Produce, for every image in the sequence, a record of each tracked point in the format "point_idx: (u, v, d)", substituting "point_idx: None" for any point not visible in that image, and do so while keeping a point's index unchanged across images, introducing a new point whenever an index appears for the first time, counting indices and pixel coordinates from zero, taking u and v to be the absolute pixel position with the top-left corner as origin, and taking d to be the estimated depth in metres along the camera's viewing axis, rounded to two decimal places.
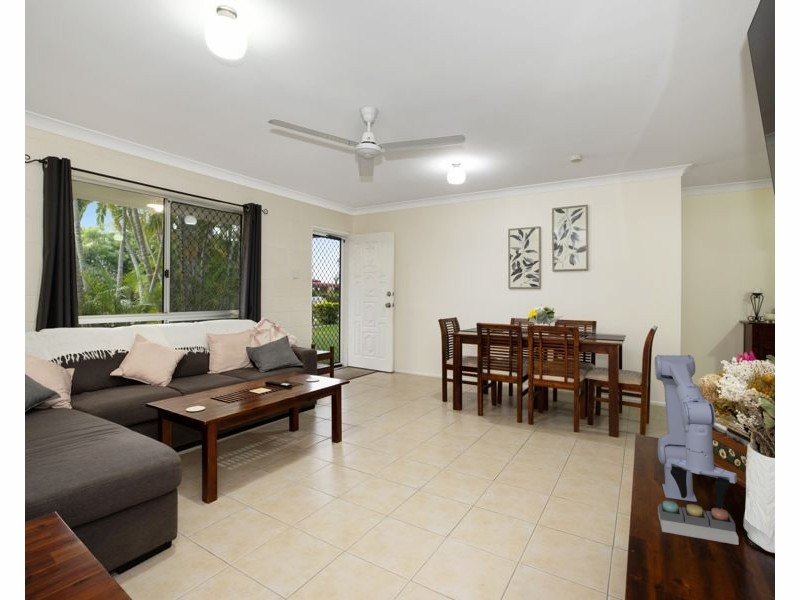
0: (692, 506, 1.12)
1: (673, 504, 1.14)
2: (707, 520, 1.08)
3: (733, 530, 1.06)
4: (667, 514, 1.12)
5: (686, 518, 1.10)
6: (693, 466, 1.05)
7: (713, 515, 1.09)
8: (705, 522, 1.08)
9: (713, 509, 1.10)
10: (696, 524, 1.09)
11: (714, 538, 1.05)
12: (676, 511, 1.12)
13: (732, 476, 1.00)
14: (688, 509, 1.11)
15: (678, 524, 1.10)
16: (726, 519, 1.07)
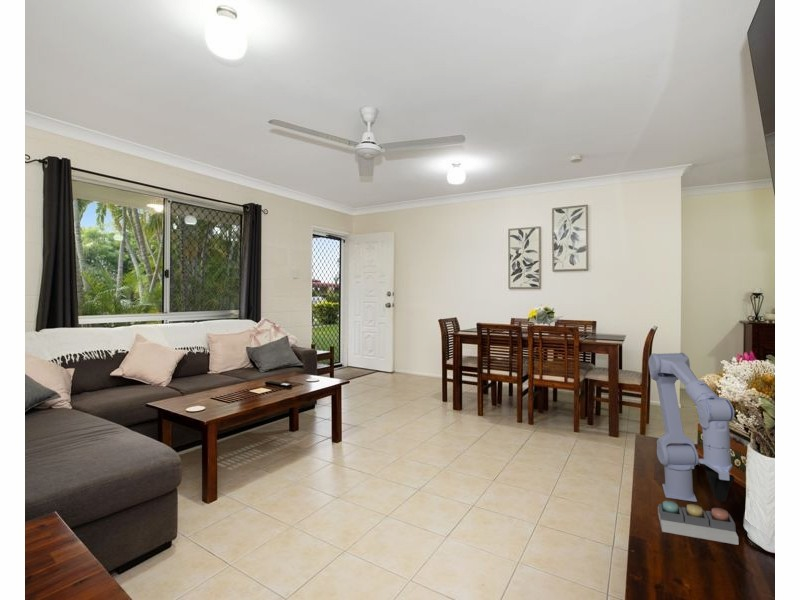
0: (692, 506, 1.12)
1: (673, 504, 1.14)
2: (707, 520, 1.08)
3: (733, 530, 1.06)
4: (667, 514, 1.12)
5: (686, 518, 1.10)
6: None
7: (713, 515, 1.09)
8: (705, 522, 1.08)
9: (713, 509, 1.10)
10: (696, 524, 1.09)
11: (714, 538, 1.05)
12: (676, 511, 1.12)
13: (719, 472, 1.03)
14: (688, 509, 1.11)
15: (678, 524, 1.10)
16: (726, 519, 1.07)
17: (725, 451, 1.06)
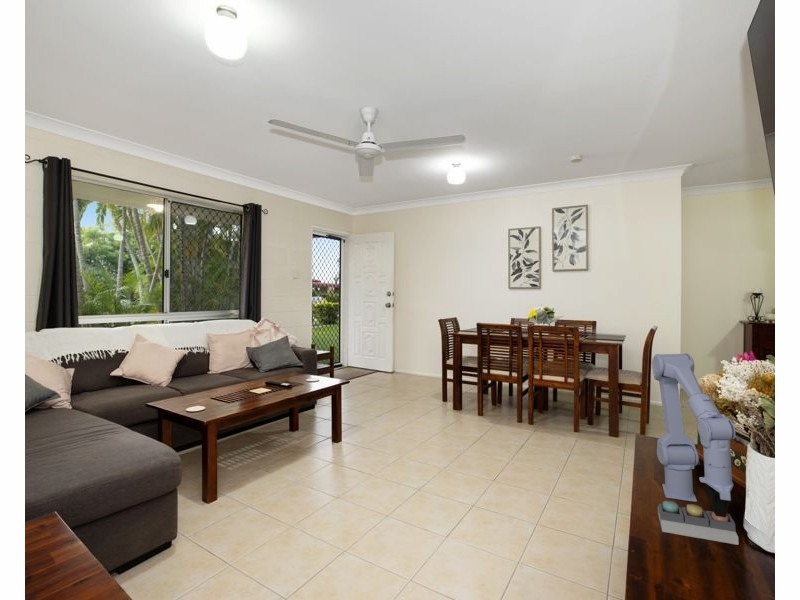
0: (692, 506, 1.12)
1: (673, 504, 1.14)
2: (707, 520, 1.08)
3: (733, 530, 1.06)
4: (667, 514, 1.12)
5: (686, 518, 1.10)
6: None
7: (713, 519, 1.09)
8: (705, 522, 1.08)
9: (713, 513, 1.10)
10: (696, 524, 1.09)
11: (714, 538, 1.05)
12: (676, 511, 1.12)
13: (720, 492, 1.03)
14: (688, 509, 1.11)
15: (678, 524, 1.10)
16: None
17: (726, 470, 1.06)
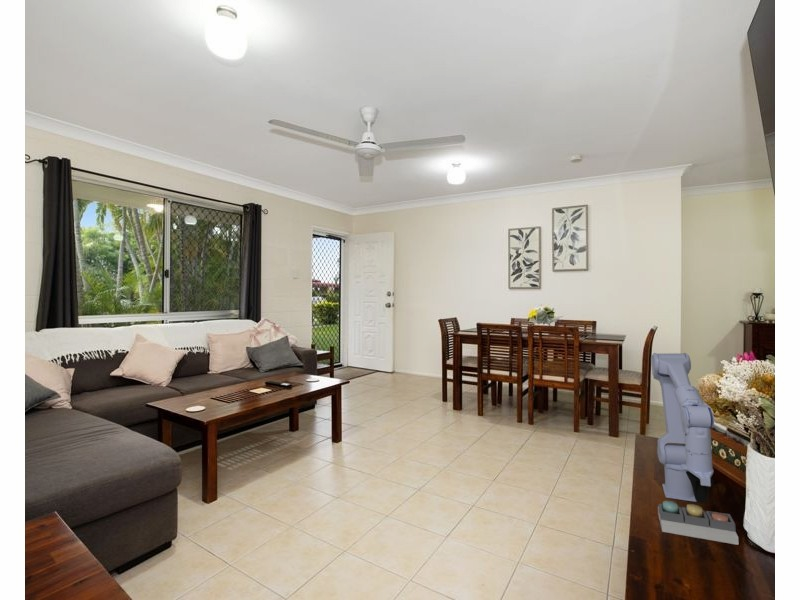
0: (692, 506, 1.12)
1: (673, 504, 1.14)
2: (707, 520, 1.08)
3: (733, 530, 1.06)
4: (667, 514, 1.12)
5: (686, 518, 1.10)
6: (686, 463, 1.12)
7: None
8: (705, 522, 1.08)
9: (713, 514, 1.10)
10: (696, 524, 1.09)
11: (714, 538, 1.05)
12: (676, 511, 1.12)
13: (700, 478, 1.05)
14: (688, 509, 1.11)
15: (678, 524, 1.10)
16: None
17: (706, 457, 1.08)
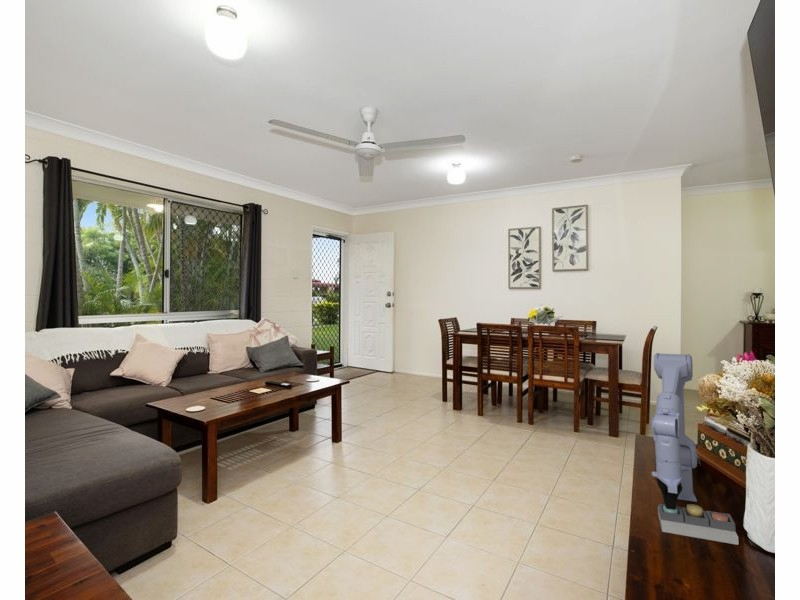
0: (692, 506, 1.12)
1: None
2: (707, 520, 1.08)
3: (733, 530, 1.06)
4: (667, 514, 1.12)
5: (686, 518, 1.10)
6: None
7: None
8: (705, 522, 1.08)
9: (713, 514, 1.10)
10: (696, 524, 1.09)
11: (714, 538, 1.05)
12: None
13: (667, 485, 1.08)
14: (688, 509, 1.11)
15: (678, 524, 1.10)
16: None
17: (675, 465, 1.11)
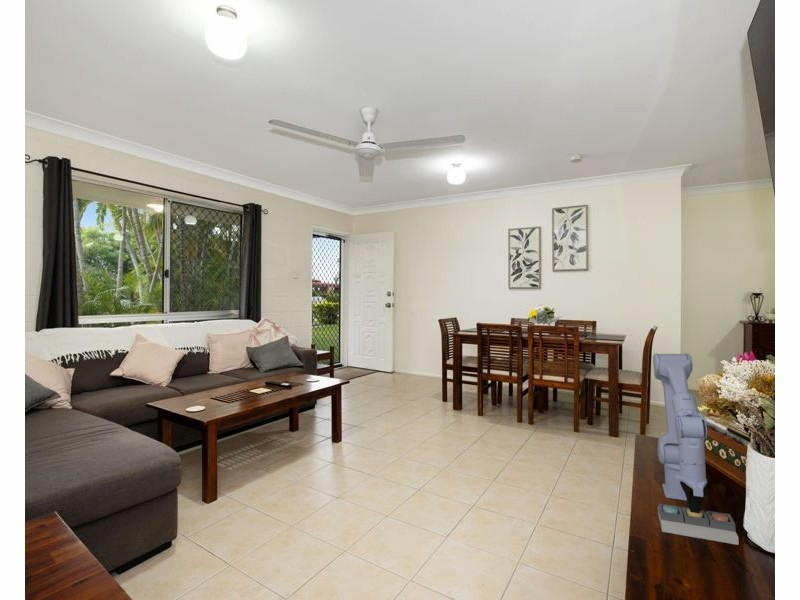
0: None
1: (673, 508, 1.14)
2: (707, 520, 1.08)
3: (733, 530, 1.06)
4: (667, 514, 1.12)
5: (686, 518, 1.10)
6: (680, 473, 1.13)
7: None
8: (705, 522, 1.08)
9: (713, 514, 1.10)
10: (696, 524, 1.09)
11: (714, 538, 1.05)
12: None
13: (693, 488, 1.06)
14: (688, 513, 1.11)
15: (678, 524, 1.10)
16: None
17: (700, 467, 1.09)
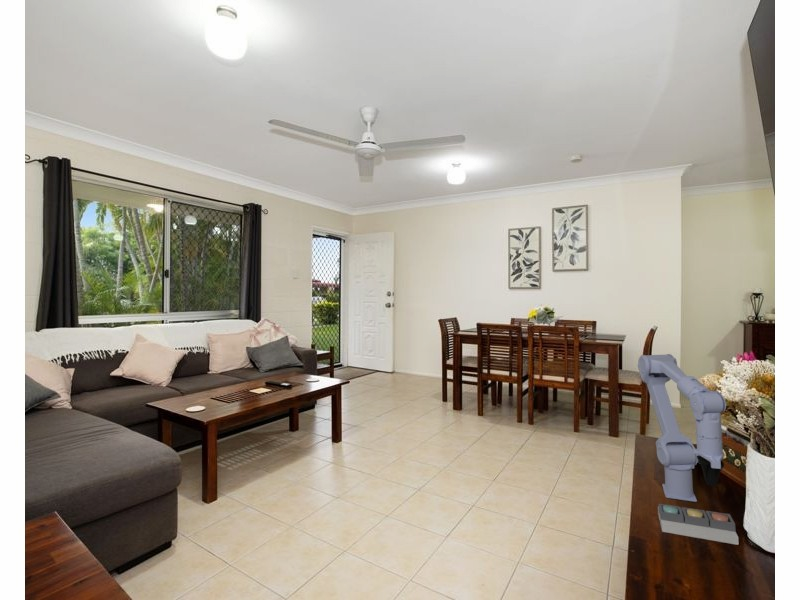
0: (692, 511, 1.12)
1: (673, 508, 1.14)
2: (707, 520, 1.08)
3: (733, 530, 1.06)
4: (667, 514, 1.12)
5: (686, 518, 1.10)
6: (697, 447, 1.16)
7: None
8: (705, 522, 1.08)
9: (713, 514, 1.10)
10: (696, 524, 1.09)
11: (714, 538, 1.05)
12: None
13: (710, 461, 1.09)
14: (688, 514, 1.11)
15: (678, 524, 1.10)
16: None
17: (717, 441, 1.12)
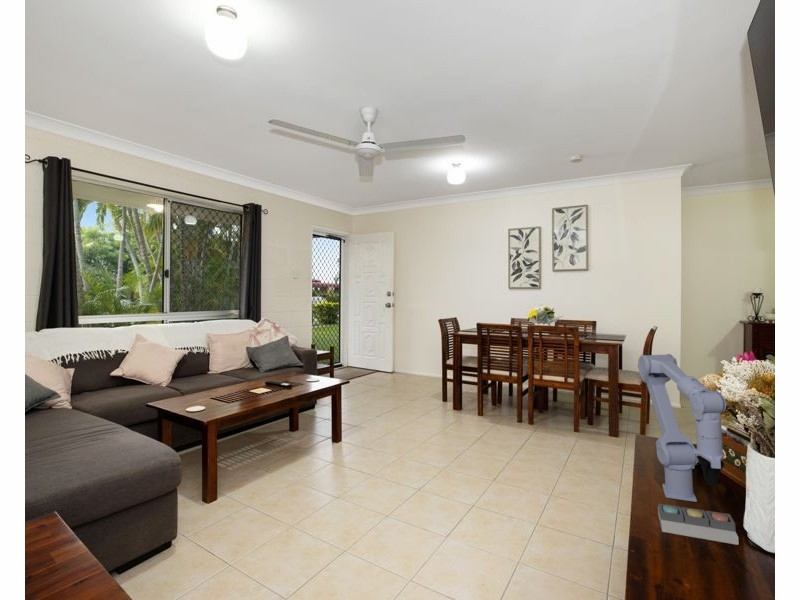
0: (692, 511, 1.12)
1: (673, 508, 1.14)
2: (707, 520, 1.08)
3: (733, 530, 1.06)
4: (667, 514, 1.12)
5: (686, 518, 1.10)
6: (697, 447, 1.16)
7: None
8: (705, 522, 1.08)
9: (713, 514, 1.10)
10: (696, 524, 1.09)
11: (714, 538, 1.05)
12: None
13: (710, 461, 1.09)
14: (688, 514, 1.11)
15: (678, 524, 1.10)
16: None
17: (717, 441, 1.12)
